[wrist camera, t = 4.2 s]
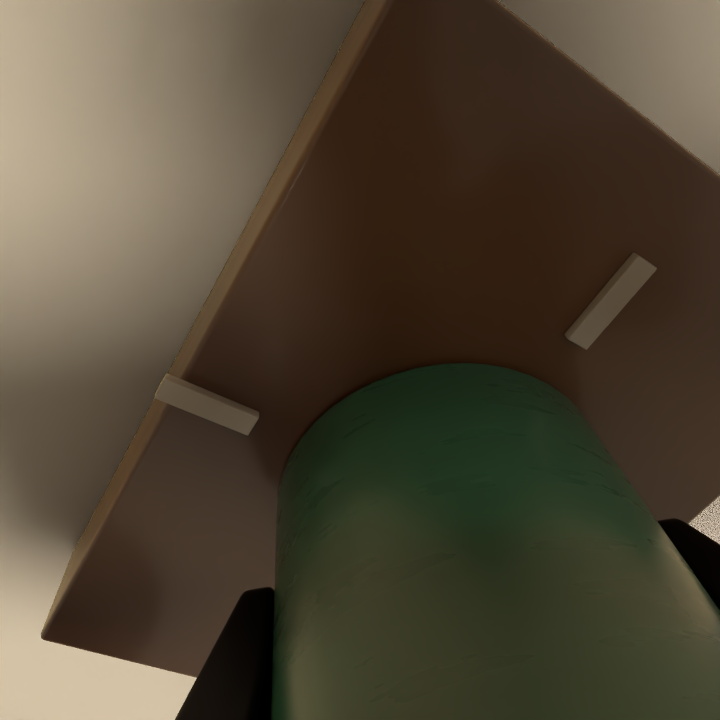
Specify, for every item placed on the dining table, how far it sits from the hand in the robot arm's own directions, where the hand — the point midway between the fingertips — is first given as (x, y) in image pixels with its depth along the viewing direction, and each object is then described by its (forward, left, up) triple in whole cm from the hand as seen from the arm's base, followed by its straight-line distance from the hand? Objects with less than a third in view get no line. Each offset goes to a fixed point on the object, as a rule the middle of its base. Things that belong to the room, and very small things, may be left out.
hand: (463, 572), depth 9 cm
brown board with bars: (0, 0, -4) cm, 4 cm away
